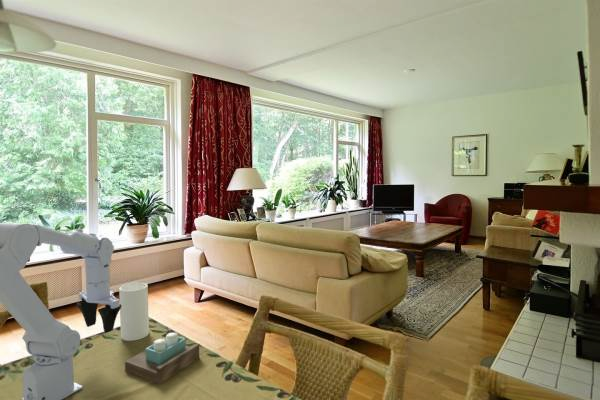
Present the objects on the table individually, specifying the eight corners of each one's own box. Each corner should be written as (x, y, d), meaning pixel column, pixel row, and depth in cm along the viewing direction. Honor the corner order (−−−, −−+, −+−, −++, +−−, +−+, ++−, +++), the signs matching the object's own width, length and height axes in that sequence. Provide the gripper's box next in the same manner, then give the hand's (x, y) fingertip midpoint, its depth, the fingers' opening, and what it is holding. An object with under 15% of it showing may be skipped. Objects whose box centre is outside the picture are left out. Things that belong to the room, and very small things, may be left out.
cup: (153, 329, 119) (152, 283, 117) (140, 341, 111) (138, 291, 109) (130, 328, 120) (128, 281, 118) (115, 340, 111) (113, 290, 110)
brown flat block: (160, 383, 89) (159, 368, 89) (125, 370, 95) (124, 355, 95) (199, 357, 102) (199, 344, 101) (166, 347, 108) (166, 334, 107)
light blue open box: (160, 366, 93) (159, 347, 92) (145, 361, 95) (145, 343, 95) (185, 350, 101) (185, 333, 100) (171, 346, 103) (171, 329, 103)
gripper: (128, 280, 98) (130, 328, 99) (95, 272, 104) (97, 317, 105) (104, 287, 92) (106, 338, 93) (70, 279, 98) (72, 327, 99)
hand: (99, 328), depth 99 cm, fingers open, 7 cm apart
